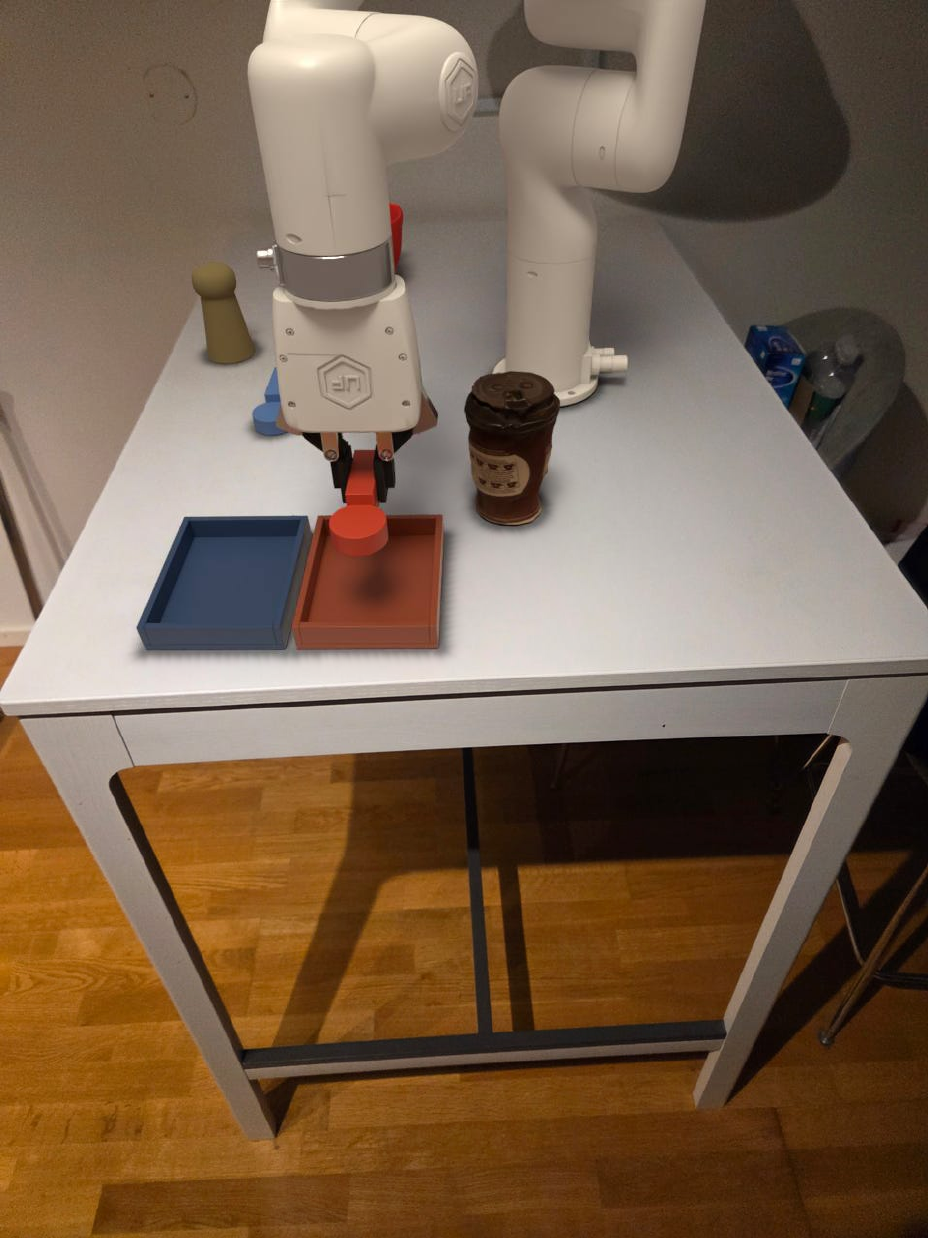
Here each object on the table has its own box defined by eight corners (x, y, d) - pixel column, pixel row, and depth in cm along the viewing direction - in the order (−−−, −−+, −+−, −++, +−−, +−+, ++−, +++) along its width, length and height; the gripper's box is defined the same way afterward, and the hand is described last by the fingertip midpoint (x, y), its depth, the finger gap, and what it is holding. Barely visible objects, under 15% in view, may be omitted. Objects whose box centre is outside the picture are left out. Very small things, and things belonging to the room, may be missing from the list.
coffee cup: (523, 546, 74) (529, 422, 65) (448, 518, 77) (443, 397, 68) (566, 498, 79) (576, 377, 70) (494, 474, 82) (495, 355, 73)
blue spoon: (269, 388, 96) (265, 366, 94) (305, 388, 96) (302, 366, 94) (251, 435, 89) (246, 413, 87) (291, 435, 88) (286, 413, 87)
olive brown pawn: (244, 365, 101) (223, 276, 93) (199, 361, 101) (175, 274, 94) (262, 343, 105) (243, 257, 97) (219, 340, 106) (198, 254, 98)
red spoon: (345, 477, 68) (340, 449, 66) (396, 477, 68) (393, 448, 66) (328, 556, 61) (323, 527, 59) (385, 556, 61) (382, 527, 59)
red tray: (443, 535, 75) (442, 513, 73) (438, 648, 65) (436, 626, 63) (321, 537, 76) (317, 515, 74) (296, 649, 65) (291, 627, 63)
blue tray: (312, 537, 76) (308, 515, 74) (285, 649, 65) (279, 627, 63) (191, 538, 76) (184, 516, 74) (145, 650, 65) (135, 627, 64)
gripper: (204, 289, 50) (261, 521, 63) (456, 286, 50) (462, 520, 63) (231, 246, 56) (278, 468, 69) (458, 243, 55) (463, 467, 68)
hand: (366, 492), depth 66 cm, fingers closed on red spoon, 2 cm apart
